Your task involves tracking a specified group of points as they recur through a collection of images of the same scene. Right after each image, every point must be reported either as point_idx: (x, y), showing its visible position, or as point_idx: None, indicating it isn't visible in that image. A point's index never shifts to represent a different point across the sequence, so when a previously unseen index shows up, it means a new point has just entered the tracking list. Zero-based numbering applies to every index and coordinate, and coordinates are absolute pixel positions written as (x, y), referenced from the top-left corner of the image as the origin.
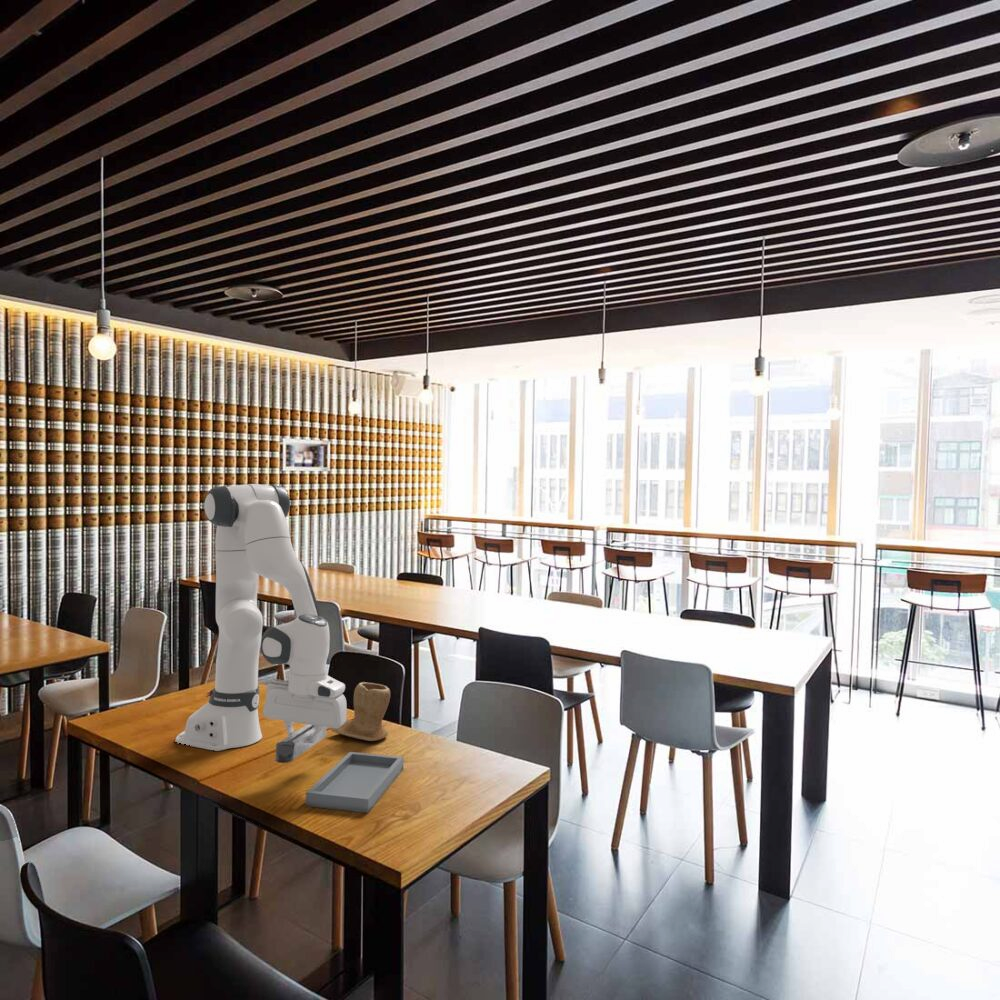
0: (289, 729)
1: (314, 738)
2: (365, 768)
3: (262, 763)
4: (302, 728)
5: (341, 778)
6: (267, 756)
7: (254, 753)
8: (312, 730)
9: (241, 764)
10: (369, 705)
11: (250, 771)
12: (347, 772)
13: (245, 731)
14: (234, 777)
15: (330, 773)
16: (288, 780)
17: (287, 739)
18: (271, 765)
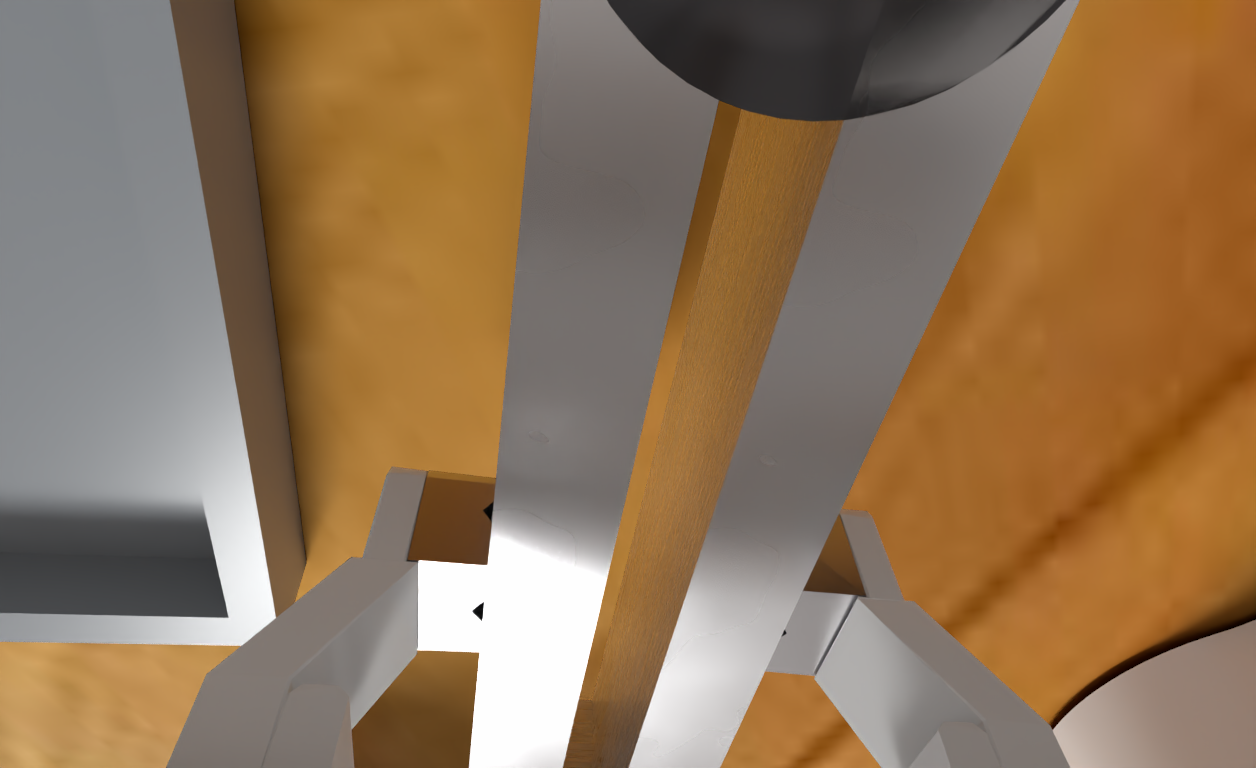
0: (908, 653)
1: (374, 538)
2: (35, 467)
3: (1002, 469)
4: (703, 754)
5: (110, 219)
6: (976, 569)
7: (1072, 593)
8: (517, 732)
9: (1167, 431)
10: None
11: (1093, 324)
12: (147, 365)
13: (1201, 761)
14: (1241, 184)
15: (137, 144)
16: (709, 185)
17: (869, 254)
18: (926, 449)
